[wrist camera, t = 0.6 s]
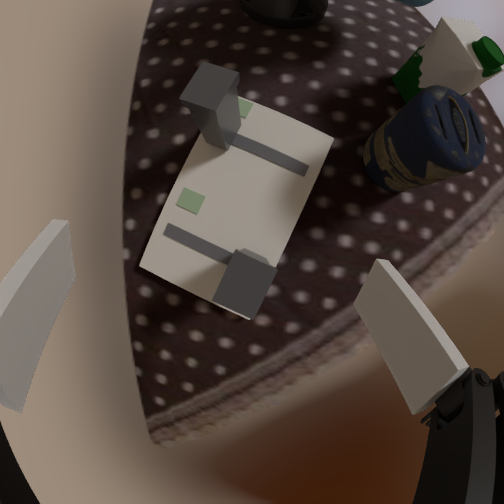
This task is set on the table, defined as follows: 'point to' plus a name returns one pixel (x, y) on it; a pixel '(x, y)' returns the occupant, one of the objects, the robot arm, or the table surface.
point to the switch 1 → (214, 103)
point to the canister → (425, 141)
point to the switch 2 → (245, 283)
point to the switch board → (236, 199)
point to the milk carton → (450, 60)
